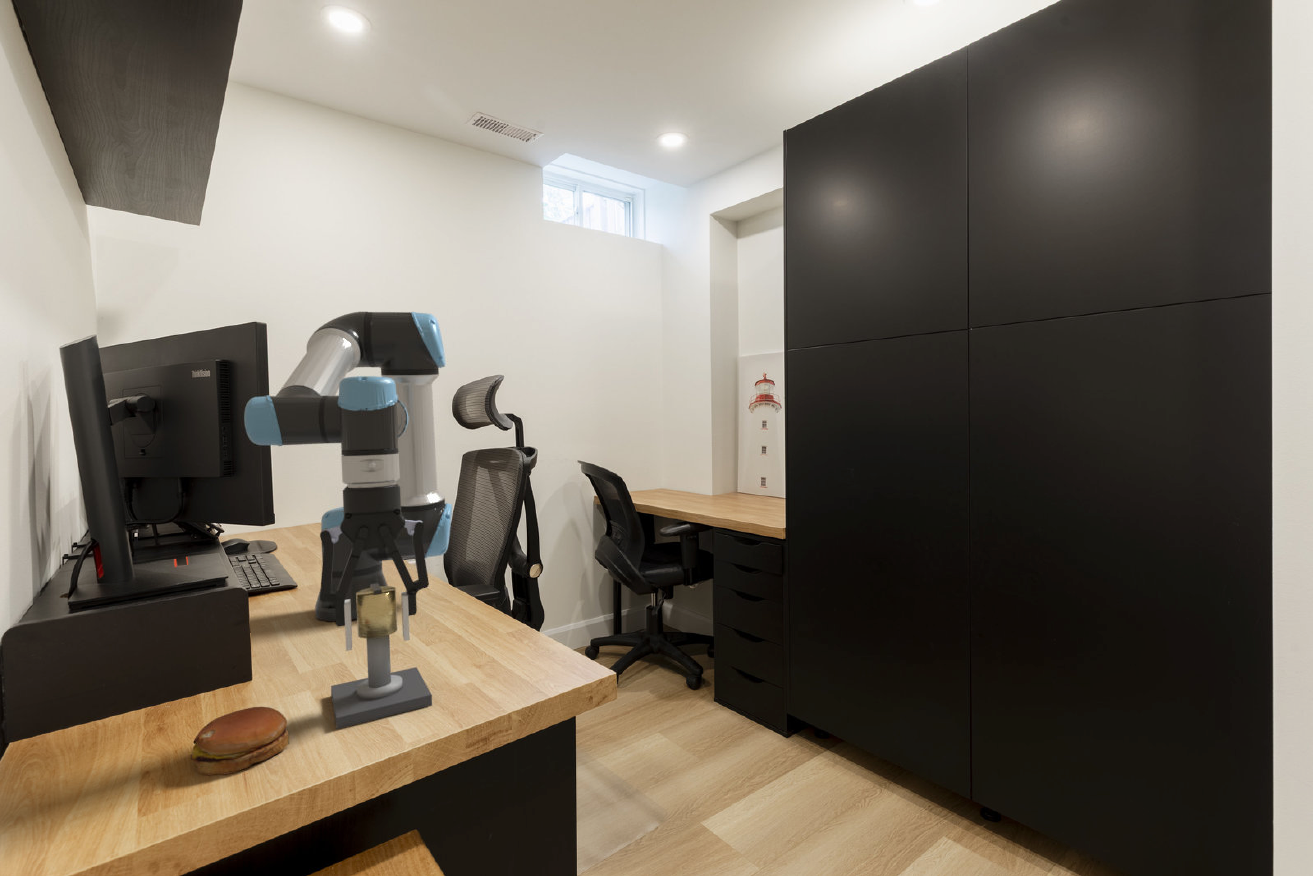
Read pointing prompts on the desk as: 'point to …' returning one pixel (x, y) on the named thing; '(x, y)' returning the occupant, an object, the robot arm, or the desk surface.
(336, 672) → the desk surface
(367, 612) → the cap
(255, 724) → the burger
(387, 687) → the post block
